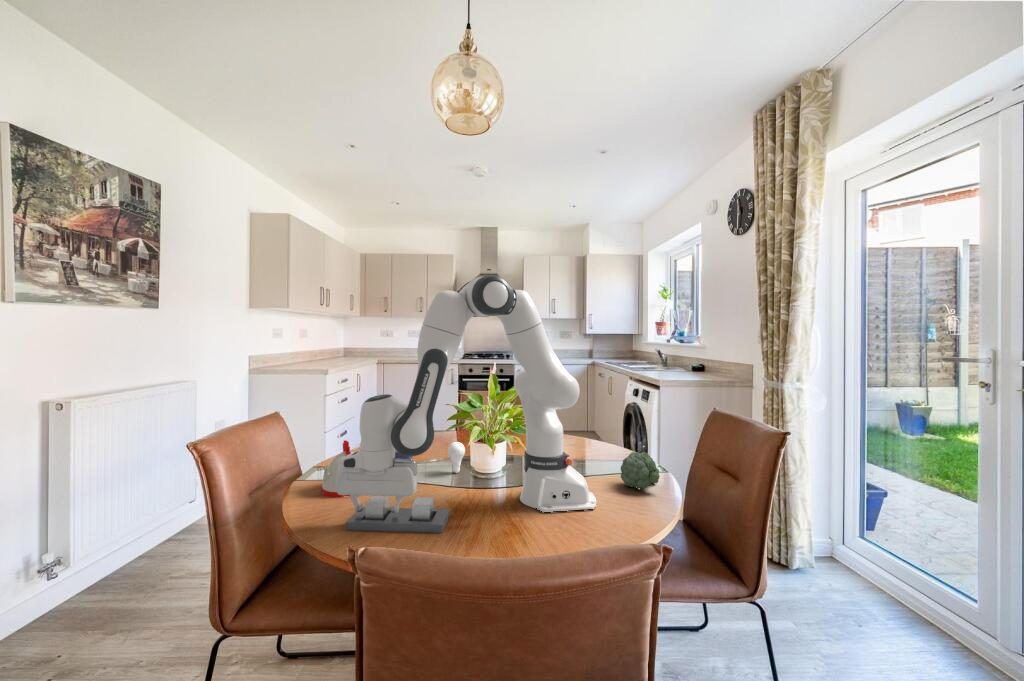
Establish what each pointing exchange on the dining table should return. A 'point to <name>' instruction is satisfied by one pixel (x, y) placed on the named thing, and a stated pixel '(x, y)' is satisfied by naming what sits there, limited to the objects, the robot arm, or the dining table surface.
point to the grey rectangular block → (377, 508)
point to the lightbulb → (456, 455)
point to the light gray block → (423, 509)
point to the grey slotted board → (399, 522)
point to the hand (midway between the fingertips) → (376, 511)
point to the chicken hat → (334, 473)
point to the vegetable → (639, 470)
